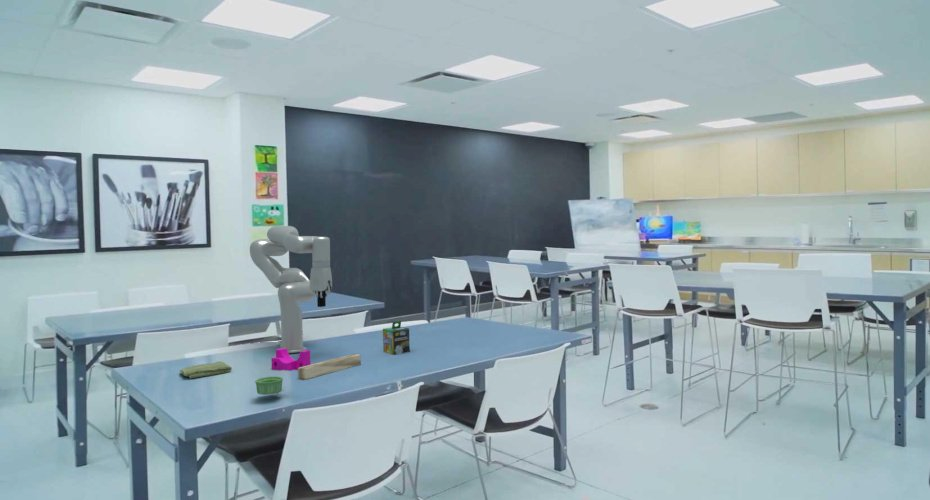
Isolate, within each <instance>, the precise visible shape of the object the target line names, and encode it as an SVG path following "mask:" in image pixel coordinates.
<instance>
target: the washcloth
mask: <svg viewBox="0 0 930 500" xmlns="http://www.w3.org/2000/svg"><path fill="white" fill-rule="evenodd" d="M232 370H233V369H232V366H230V365H228V364H226V362H224V361H220V360H219V361H216V362H210V363H203V364H197V365H196V364H195V365H192V366H191V365H190V366H188V367H184V368H182V369H180V370H179V373H180V374H181V373H182V374H181V375H182V376H184V377H186V376H187V378H189V379H197V378H202V377H206V376H207V377H209V376H213V375H214V376H216V375H220V374H225V373H229V372H231V371H232Z"/></svg>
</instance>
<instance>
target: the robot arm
mask: <svg viewBox="0 0 930 500" xmlns="http://www.w3.org/2000/svg"><path fill="white" fill-rule="evenodd" d="M266 237H267V238H261V239H256V240H254V241H252V242H251V243H250V246H249V254H250V255H249V256H250V258H251V261H252V262H253V264H254V265H255V266H256V267H258V269H259V270H260V272H262V273H263V274H264V276H265V277H266V278H267V280H268V281H269V282H270V284H272V286H273V287H274V288H276V289H277V297H278V303H279V309H280V331H281V332H280V333H281V334H280V335H281V339H280V341H279V342H277V346H279V348H278V349H281V348H286V349H287V350H288V354H294V353H295V354H297V353H300V352H301V351H305V350H307V347H306V346H304V337H303V335H304V333H303V332H304V331H303V329H304V327H303V311H302V309H301V307H300V305H299V304H298V303H305V302H310V301H313V300H314V298H315V297H316V298H317V300H316V302H317V307H318V308H323V307H326V298H327V296H328V295H329V294H331V293H332V292H331V290H332V289H333V277H332V268H331V239H330V237H328V236H317V235H314V236H313V235H311V236H310V235H299V231H298V229H297V228H296V227H295V226H292V225H274V226H271V227H270V228H269V229H268V230H267V231H266ZM288 252H292V253H295V254H312V255H311V256H312V257H311V259H312V267H311V269H310V275H309V278H308V276H307V275H306V274H305V273H304V272H303V270H302V269H300V268H298V267H287V268H286V267H283V266H282V265H281V264H280V262H278V260H276V259H275V258H273V257H282V256H284V255H286V254H287V253H288Z"/></svg>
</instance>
